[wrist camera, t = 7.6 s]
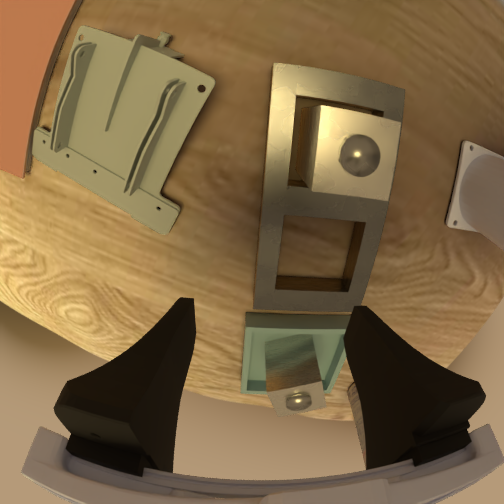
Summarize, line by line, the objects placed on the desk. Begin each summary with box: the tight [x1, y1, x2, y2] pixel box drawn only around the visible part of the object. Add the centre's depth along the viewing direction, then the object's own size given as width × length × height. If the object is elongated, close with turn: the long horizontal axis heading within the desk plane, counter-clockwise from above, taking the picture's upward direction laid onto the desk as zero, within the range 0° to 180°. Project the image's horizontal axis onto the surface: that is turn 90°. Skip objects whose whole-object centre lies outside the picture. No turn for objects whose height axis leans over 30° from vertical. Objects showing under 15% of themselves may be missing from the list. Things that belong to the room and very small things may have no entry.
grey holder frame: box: [253, 63, 405, 312], centre depth 19 cm, size 9×18×2 cm, turn 176°
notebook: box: [0, 0, 83, 178], centre depth 11 cm, size 27×17×2 cm, turn 157°
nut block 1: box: [264, 334, 326, 417], centre depth 24 cm, size 4×4×6 cm
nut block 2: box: [295, 105, 401, 201], centre depth 16 cm, size 4×4×6 cm
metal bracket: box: [32, 25, 216, 235], centre depth 17 cm, size 14×6×15 cm
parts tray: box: [241, 312, 351, 394], centre depth 27 cm, size 10×10×2 cm
